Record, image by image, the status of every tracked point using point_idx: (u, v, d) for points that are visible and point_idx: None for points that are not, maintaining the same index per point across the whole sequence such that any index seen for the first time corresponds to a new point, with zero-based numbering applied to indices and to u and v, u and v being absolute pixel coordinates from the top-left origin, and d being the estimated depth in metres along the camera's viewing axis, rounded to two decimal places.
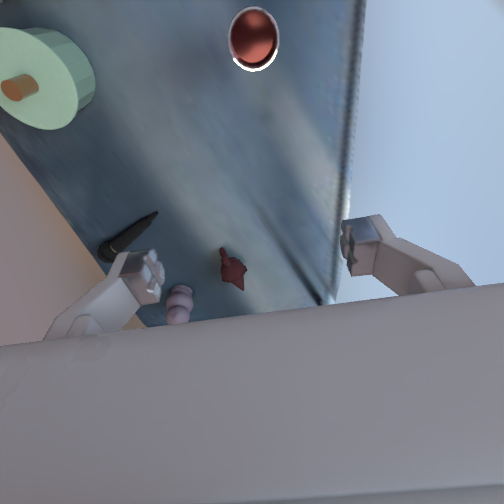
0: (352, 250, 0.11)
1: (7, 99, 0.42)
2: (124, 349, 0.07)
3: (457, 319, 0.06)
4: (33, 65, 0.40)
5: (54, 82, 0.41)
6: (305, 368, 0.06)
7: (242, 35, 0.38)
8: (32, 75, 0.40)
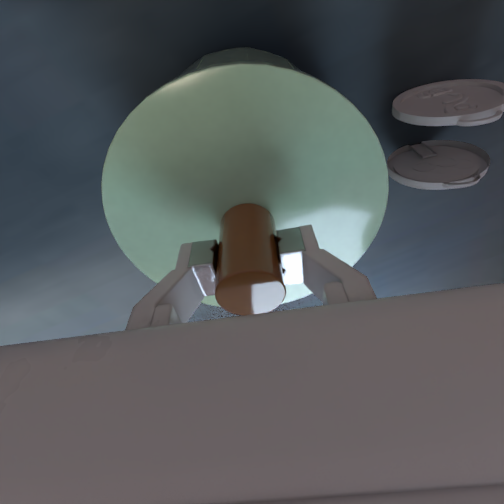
0: (280, 260, 0.11)
1: (192, 136, 0.10)
2: (124, 349, 0.07)
3: (457, 319, 0.06)
4: None
5: None
6: (305, 368, 0.06)
7: None
8: None
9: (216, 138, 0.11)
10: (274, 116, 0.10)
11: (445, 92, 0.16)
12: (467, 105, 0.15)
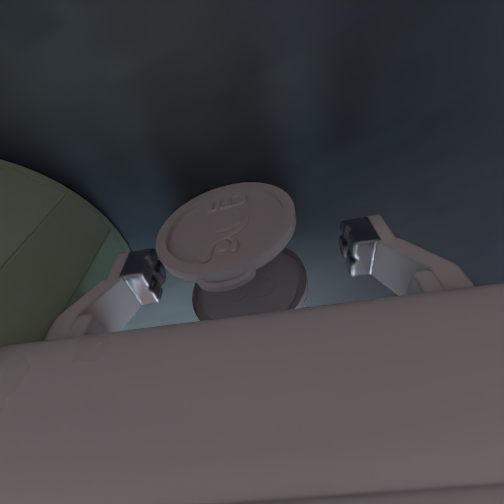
0: (351, 250, 0.11)
1: None
2: (124, 349, 0.07)
3: (457, 319, 0.06)
4: None
5: None
6: (305, 368, 0.06)
7: None
8: None
9: None
10: None
11: (235, 206, 0.12)
12: (228, 245, 0.10)
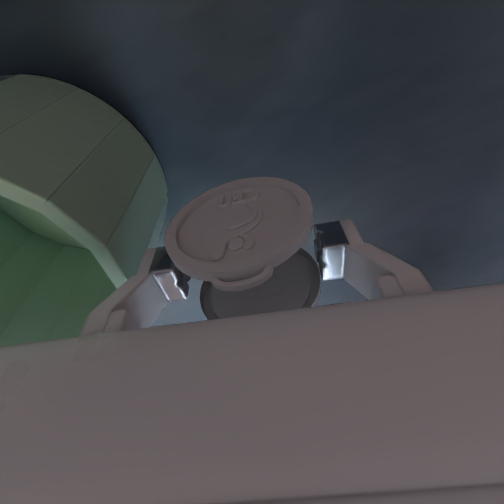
0: (321, 254, 0.11)
1: None
2: (124, 349, 0.07)
3: (457, 319, 0.06)
4: None
5: None
6: (305, 368, 0.06)
7: None
8: None
9: None
10: None
11: (247, 201, 0.11)
12: (242, 242, 0.09)
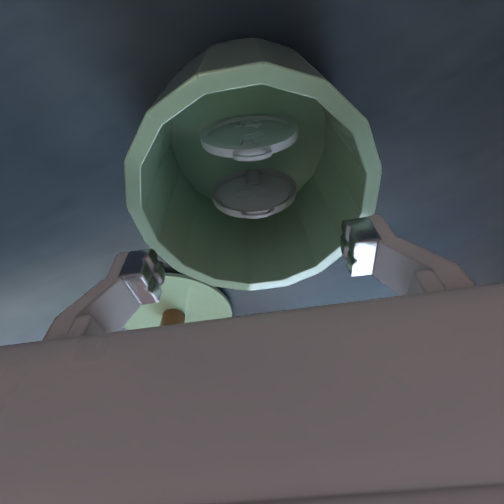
0: (352, 250, 0.11)
1: None
2: (124, 349, 0.07)
3: (457, 319, 0.06)
4: None
5: None
6: (305, 368, 0.06)
7: None
8: (185, 321, 0.32)
9: None
10: (175, 286, 0.28)
11: (255, 124, 0.17)
12: (253, 140, 0.15)
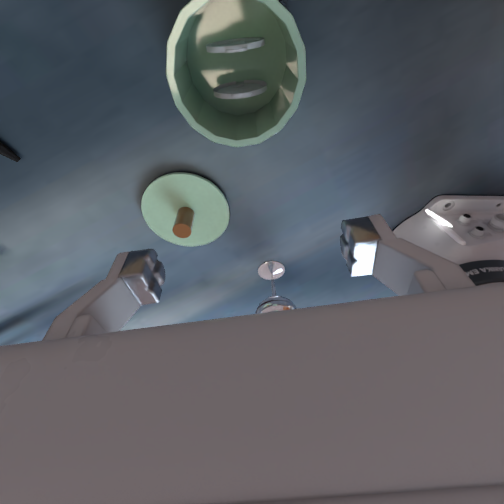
0: (352, 250, 0.11)
1: (166, 189, 0.39)
2: (124, 349, 0.07)
3: (457, 319, 0.06)
4: (202, 223, 0.43)
5: (191, 233, 0.44)
6: (305, 368, 0.06)
7: None
8: (194, 219, 0.43)
9: (173, 189, 0.39)
10: (187, 184, 0.39)
11: (239, 41, 0.28)
12: (237, 44, 0.26)
